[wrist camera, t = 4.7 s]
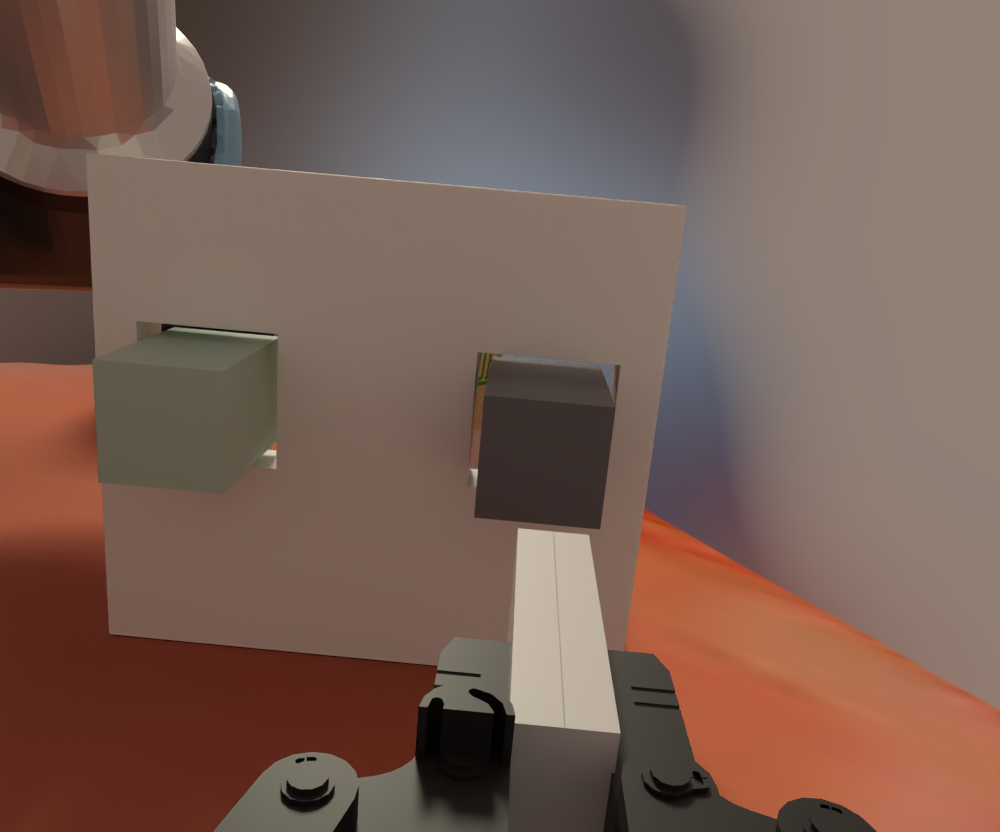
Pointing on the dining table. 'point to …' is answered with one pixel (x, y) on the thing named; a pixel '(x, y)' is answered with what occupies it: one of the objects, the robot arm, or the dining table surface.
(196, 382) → the sage button
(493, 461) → the black button
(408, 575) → the button panel
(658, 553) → the dining table surface
